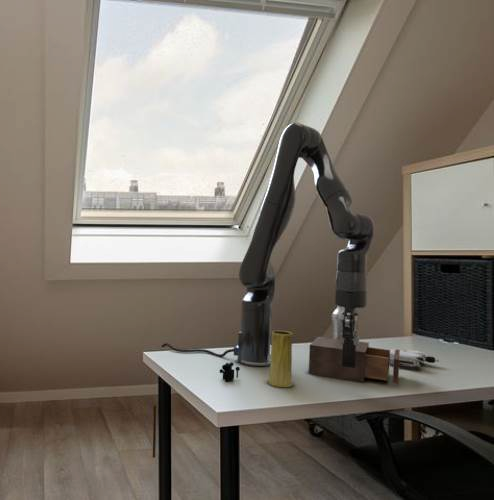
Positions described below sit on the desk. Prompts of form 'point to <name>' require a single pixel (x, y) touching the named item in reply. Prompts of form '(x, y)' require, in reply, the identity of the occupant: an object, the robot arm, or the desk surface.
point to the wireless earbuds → (228, 371)
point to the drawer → (384, 364)
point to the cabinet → (335, 359)
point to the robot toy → (412, 357)
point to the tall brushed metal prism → (349, 359)
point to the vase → (281, 359)
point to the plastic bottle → (337, 322)
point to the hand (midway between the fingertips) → (348, 352)
